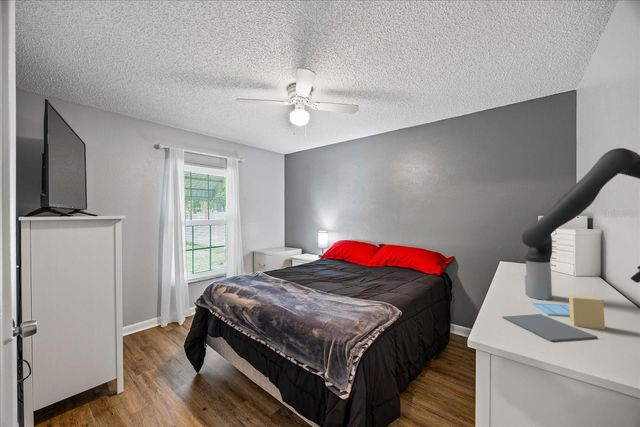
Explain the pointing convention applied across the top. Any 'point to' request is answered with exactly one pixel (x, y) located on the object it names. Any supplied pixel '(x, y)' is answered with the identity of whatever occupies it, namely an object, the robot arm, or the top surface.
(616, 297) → the top surface
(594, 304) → the yellow block
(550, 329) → the mat
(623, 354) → the top surface
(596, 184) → the robot arm
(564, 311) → the light blue flat slab
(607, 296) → the top surface
